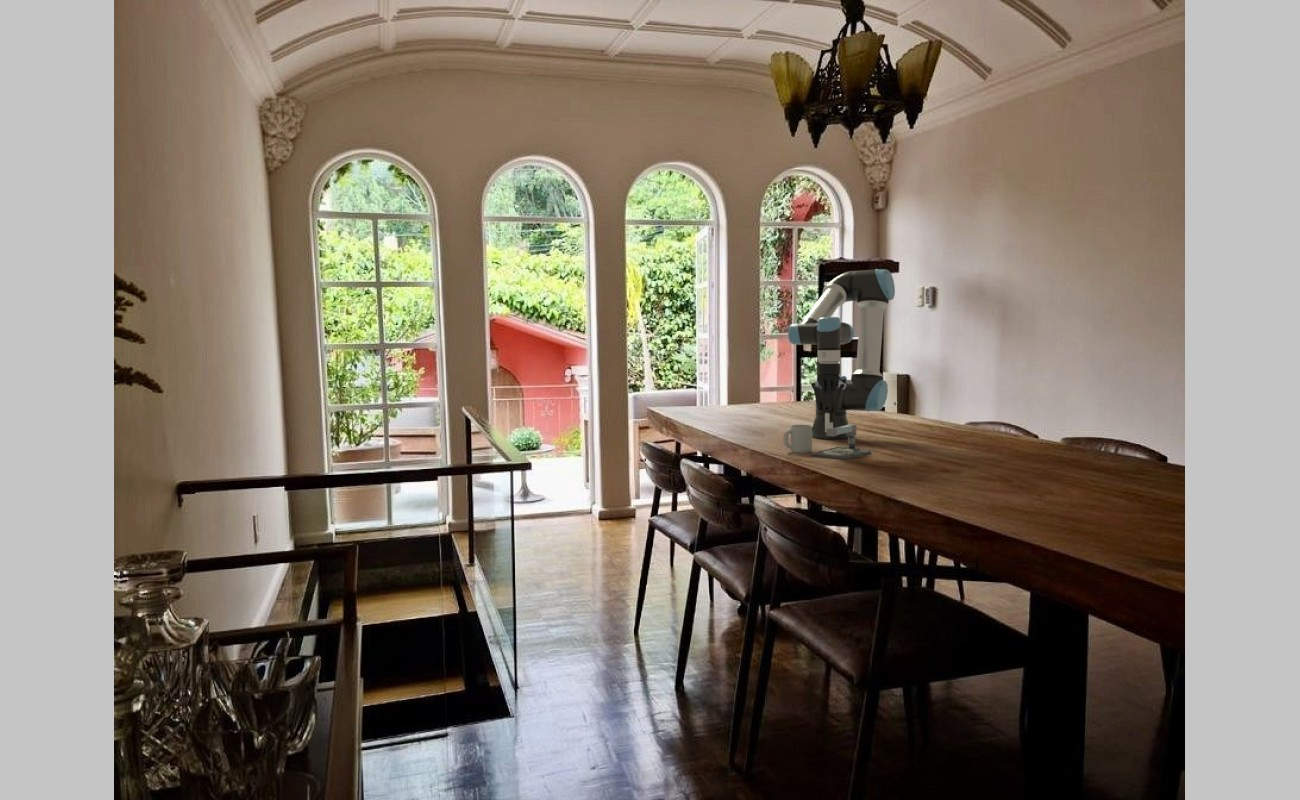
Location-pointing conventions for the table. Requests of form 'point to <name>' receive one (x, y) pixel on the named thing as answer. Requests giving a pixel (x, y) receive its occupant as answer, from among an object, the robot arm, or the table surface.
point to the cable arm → (842, 430)
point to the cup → (799, 438)
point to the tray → (843, 451)
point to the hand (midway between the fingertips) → (829, 431)
